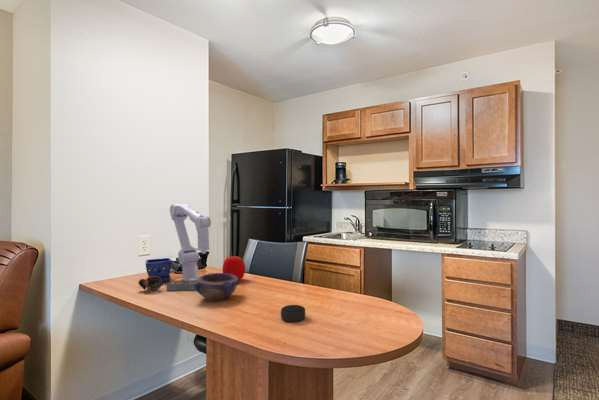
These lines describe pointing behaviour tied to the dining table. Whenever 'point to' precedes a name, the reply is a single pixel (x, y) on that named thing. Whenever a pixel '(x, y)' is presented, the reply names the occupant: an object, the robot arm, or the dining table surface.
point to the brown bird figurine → (150, 283)
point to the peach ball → (179, 281)
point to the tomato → (234, 266)
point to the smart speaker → (293, 313)
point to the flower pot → (159, 268)
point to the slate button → (192, 280)
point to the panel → (180, 286)
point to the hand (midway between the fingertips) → (204, 265)
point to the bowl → (216, 285)
